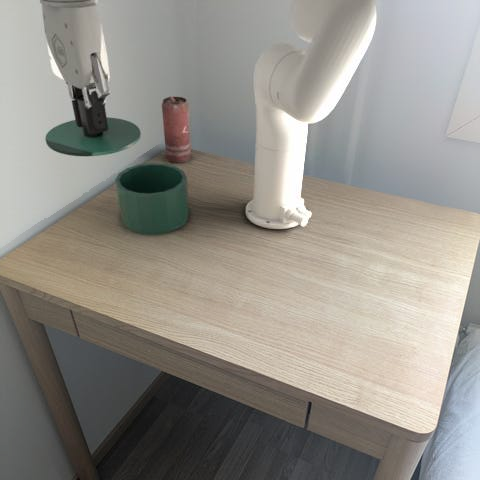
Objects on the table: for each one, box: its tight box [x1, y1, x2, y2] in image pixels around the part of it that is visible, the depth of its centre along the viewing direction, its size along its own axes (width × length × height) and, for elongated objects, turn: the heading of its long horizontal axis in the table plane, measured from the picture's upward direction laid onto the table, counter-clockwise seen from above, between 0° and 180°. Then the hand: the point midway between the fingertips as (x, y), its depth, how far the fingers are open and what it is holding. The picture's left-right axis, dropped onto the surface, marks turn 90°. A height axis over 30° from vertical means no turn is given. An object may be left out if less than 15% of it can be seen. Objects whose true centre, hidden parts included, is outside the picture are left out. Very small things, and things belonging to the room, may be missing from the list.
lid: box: [44, 95, 142, 157], centre depth 76 cm, size 15×15×7 cm
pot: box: [114, 162, 190, 235], centre depth 99 cm, size 14×14×8 cm
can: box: [161, 96, 192, 164], centre depth 118 cm, size 6×6×14 cm
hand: (92, 127), depth 77 cm, fingers closed on lid, 3 cm apart
